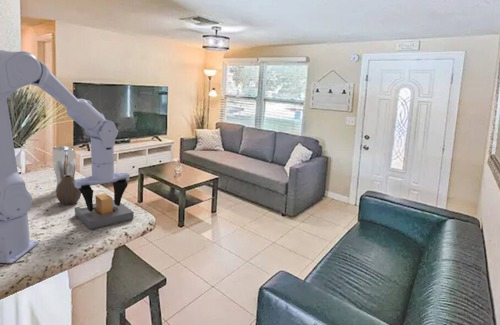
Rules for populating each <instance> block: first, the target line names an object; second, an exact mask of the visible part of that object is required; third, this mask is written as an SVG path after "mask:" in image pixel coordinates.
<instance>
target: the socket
mask: <svg viewBox="0 0 500 325" xmlns="http://www.w3.org/2000/svg"><path fill="white" fill-rule="evenodd" d="M112 202H113V212H111V213H107V214H102V215H100V214H99V213H97V212H96V202H95V203H93V211H91V212H90V211H89V210H88V209H87V205H86V204H85V205H80V206H75V207H74V216H76V218H77V219H79V221H80V222H82V224H84V226H86V228H88V229H89V231H93V230H96V229H100V228H105V227H109V226H112V225H116V224H122V223H126V222H129V220H130V221H133V220H132V219H134V214H135V212H134V211H133V210H131V209H130V208H129V207H127V206H126V205H124V204H123V203H122V202H120V206H117V205H116V204H115V203H114V199H112ZM125 221H126V222H125ZM121 222H122V223H121Z"/></svg>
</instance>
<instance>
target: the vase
mask: <svg viewBox="0 0 500 325" xmlns="http://www.w3.org/2000/svg"><path fill="white" fill-rule="evenodd" d="M74 180H76V179H75V177H74V178H73V176H71V175H66V176H64V177H63V179H62V180H61V181H60V183H59V184H58V186H57V185H56V187H57V188H55V195H56V199H57V201H58V202H59V203H61V204H62V205H66V206H69V205H75V204H76V203H78V201H79V200H80V199H81V196H82V193H81V192H80V190H79V188H78V189H77V188H76V187H75V183H74Z"/></svg>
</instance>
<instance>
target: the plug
mask: <svg viewBox="0 0 500 325" xmlns="http://www.w3.org/2000/svg"><path fill="white" fill-rule="evenodd" d="M112 200H113V197H112V196H111V195H109V194H108V193H102V194H96V195H95V203H96V212H97V213H99V214H100V215H102V214H107V213H111V212H113V202H112Z"/></svg>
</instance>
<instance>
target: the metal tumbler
mask: <svg viewBox="0 0 500 325" xmlns="http://www.w3.org/2000/svg"><path fill="white" fill-rule="evenodd" d="M76 156H77V155H76V147H75V146H71V145H61V146H60V145H59V146H54V147H52V164H53V165H52V166H53V170H54V173H55V177H56V188H57V186H58V184H59V183H60V181H61V180H62V179H63V177H64V176H66V175H71V176H73V178H74V179H75V175H76V174H75V173H76V167H77V157H76ZM56 188H55V189H56Z"/></svg>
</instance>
